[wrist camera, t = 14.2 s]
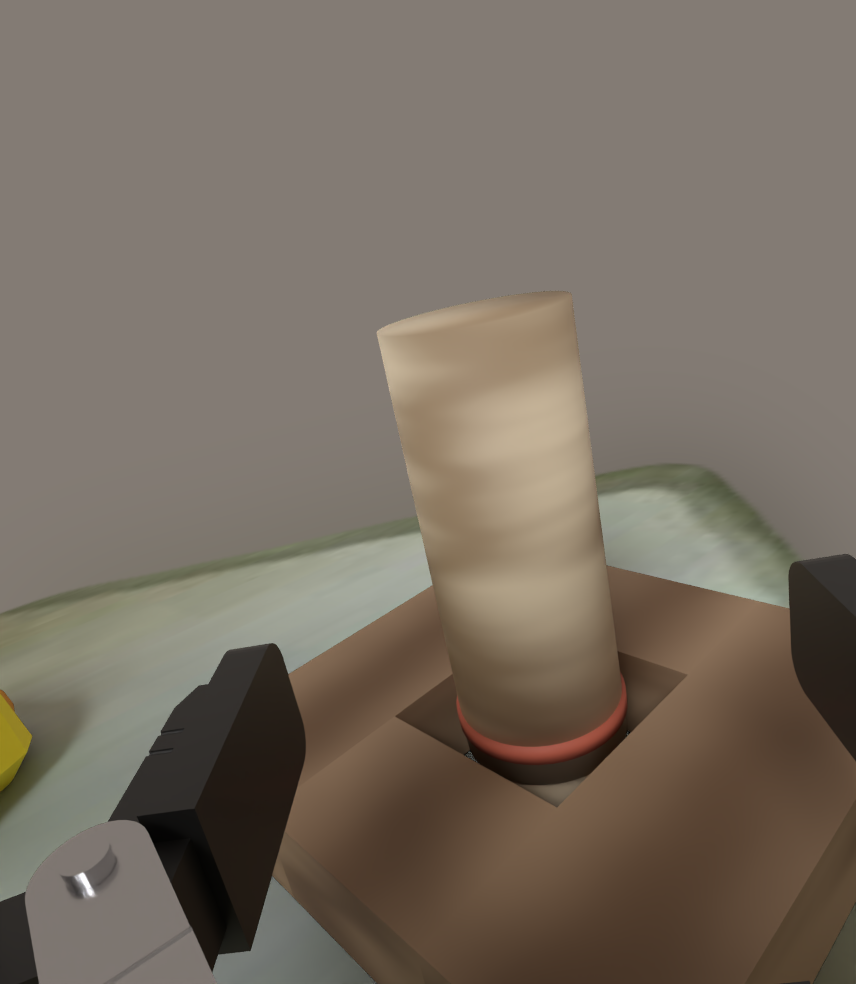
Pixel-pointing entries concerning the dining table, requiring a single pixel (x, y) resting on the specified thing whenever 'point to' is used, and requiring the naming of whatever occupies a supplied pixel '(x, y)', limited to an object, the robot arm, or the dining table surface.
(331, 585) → the dining table surface
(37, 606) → the dining table surface
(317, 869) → the board
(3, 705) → the low-poly banana
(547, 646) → the peg
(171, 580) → the dining table surface
